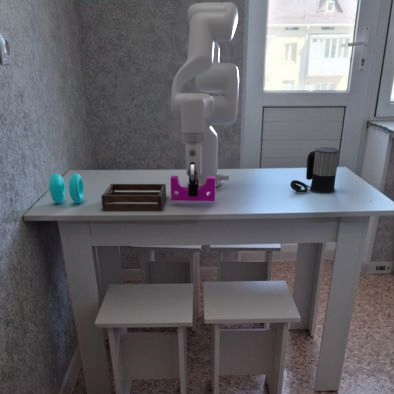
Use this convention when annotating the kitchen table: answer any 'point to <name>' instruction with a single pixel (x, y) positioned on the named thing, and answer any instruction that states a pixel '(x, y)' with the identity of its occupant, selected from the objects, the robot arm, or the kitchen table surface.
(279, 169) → the kitchen table surface
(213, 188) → the magenta cradle bracket
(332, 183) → the milk frother
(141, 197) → the crate
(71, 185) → the donuts
